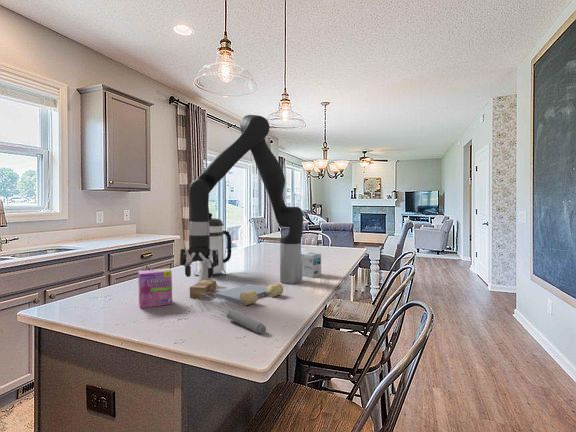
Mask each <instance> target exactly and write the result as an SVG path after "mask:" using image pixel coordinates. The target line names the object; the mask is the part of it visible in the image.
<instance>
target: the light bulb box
mask: <svg viewBox="0 0 576 432" xmlns="http://www.w3.org/2000/svg"><path fill="white" fill-rule="evenodd" d="M301 259H302V277H307V276H308V277H309V278H317V277H320V275H321V276H322V254H321V253H318V252H317V253H316V252H309V251H301Z"/></svg>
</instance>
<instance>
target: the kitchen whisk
mask: <svg viewBox="0 0 576 432" xmlns="http://www.w3.org/2000/svg"><path fill="white" fill-rule="evenodd" d="M206 293H210V292H206ZM200 295H201V294H200ZM203 295H205V293H204V294H203ZM203 295H202V296H203ZM211 295H212V296H210V295H209V296H207V295H206V296H205V297H206V298H207V297H208V298H210V299H212V300H213V301H215V302H216V303H215V302H212V301H209V300H206V299H205V298H204V297H203V298H204V299H202V297H200V298H195V299H196V303H195V305H196V307H197V308H199V309H200V310H201V311H202V312H207V313H211V314H212V316H213V317H214V316H215V317H216V315H217V314H218V315H219V313H217V312H212V311H210V309H209V307H212V308H214V309H217V310H218V311H220V312H224V313H225V314H223V313H220V316H221V317H227V318H228V319H230V320H231V321H233V322H235V323H237V324H239V325H241V326H243V327H244V328H247V329H249V330H251V331H252V332H255V333H257V334H258V335H259V334H260V335H263V334H265V333H266V332H267V333H268V334H267V333H266V334H265V335H267V336H268V335H269V331H268V329H267V327H266V326H265V324H263V323H261V322H259V321H257V320H254V319H252V318H251V317H249V316H246V315H244V314H242V313H240V312H238V311H236V310H234V309H231V308H230V307H229V306H228V305H227V304H226V303H225V302H224V301H223V299H220V298H219V297H218V296H217V297H218V298H217V297H215V296H216V295H215V294H214V292H213V293H212V294H211ZM213 295H215V296H213ZM213 297H214V298H216V299H219V300H220V301H221V302H222V303H223V304H224V305H225V306H226V307H225V306H223V305H222V304H221V303H219V302H218V301H217V300H215V299H214V298H213ZM204 301H206V302H209V303H211V304H214V305H216V306H218V307H220V308H222V309H220V308H217V307H216V306H212V305H210V304H208V303H206V302H204ZM198 302H199V305H201V303H202V304H203V306H204V307H205V308H206V309H207V310H205V309H202V307H200V306H199V305H198ZM206 305H207V306H209V307H207V306H206ZM208 310H209V311H208ZM214 314H215V315H214Z"/></svg>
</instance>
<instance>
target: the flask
mask: <svg viewBox="0 0 576 432" xmlns="http://www.w3.org/2000/svg"><path fill="white" fill-rule="evenodd" d="M201 263H202V269H201V273H199V276H198V279H197V282H196V284H197V283H199V282H200V281H201V280H214V278H213V276H212V277H211V278H208V268H209V267H208V265H207V264H206V263H205V262H204V261H202V262H201Z"/></svg>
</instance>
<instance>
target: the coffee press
mask: <svg viewBox="0 0 576 432" xmlns="http://www.w3.org/2000/svg"><path fill="white" fill-rule="evenodd" d="M224 224H225V223H223V220H222V219H219V218H214V217H213V214H212V213H211V212H209V226H210V247H209V248H210V250H218V260H219V265H217V266H215V267H214V268H213V275H217V274H221V275H223V276H226V273H227V272H226V271H225V268H224V264H225V263H227V262H229V261H230V259H231V256H232V237H231V234H230V232H229V231H227V230H223V229H224ZM224 235H225V236H226V240H227V243H226V244H227V248H226V249H227V251H226V253H227V255H226V257H225V258H224ZM209 257H210V259H211V261H212V263H213V256H212V255H211V253H210V254H209ZM201 262H202V261H196V270H195V272H194V276H195V277H196V276H198V275H200V273H201V269H202V263H201ZM223 272H224V273H223ZM196 273H197V274H196Z"/></svg>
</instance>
